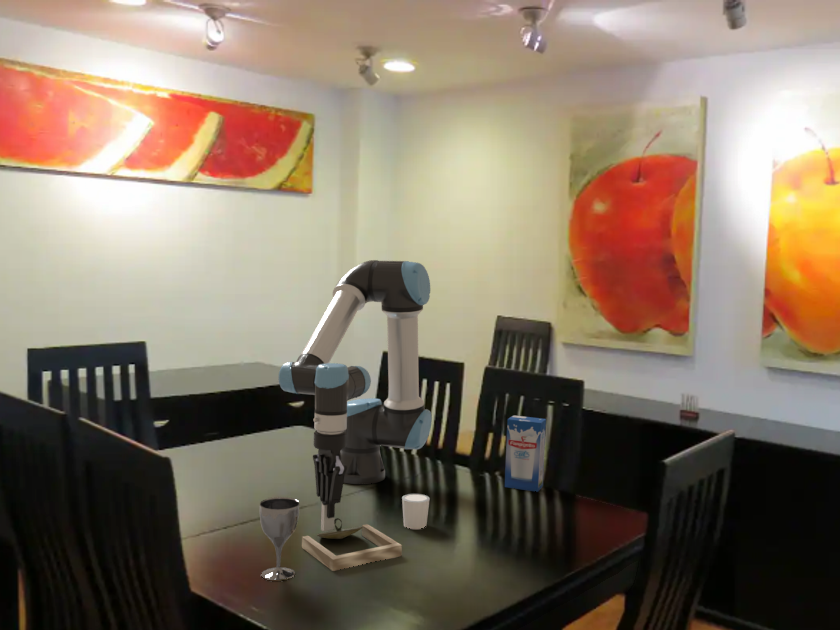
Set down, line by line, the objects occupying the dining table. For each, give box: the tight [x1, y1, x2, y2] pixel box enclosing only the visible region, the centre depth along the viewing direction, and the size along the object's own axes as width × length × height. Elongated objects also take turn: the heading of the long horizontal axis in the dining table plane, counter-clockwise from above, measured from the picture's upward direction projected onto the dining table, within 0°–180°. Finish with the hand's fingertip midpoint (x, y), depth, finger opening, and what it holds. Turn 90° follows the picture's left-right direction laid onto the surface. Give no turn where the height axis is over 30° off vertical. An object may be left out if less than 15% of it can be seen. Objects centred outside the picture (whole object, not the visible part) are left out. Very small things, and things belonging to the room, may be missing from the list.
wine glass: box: [259, 496, 300, 581], centre depth 161 cm, size 8×8×15 cm
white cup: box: [401, 493, 431, 530], centre depth 193 cm, size 7×7×7 cm
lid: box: [316, 517, 362, 540], centre depth 181 cm, size 11×10×5 cm
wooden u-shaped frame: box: [301, 523, 403, 572], centre depth 175 cm, size 17×15×2 cm
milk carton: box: [504, 415, 547, 493], centre depth 228 cm, size 10×6×20 cm, turn 68°
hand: (327, 529), depth 184 cm, fingers closed
